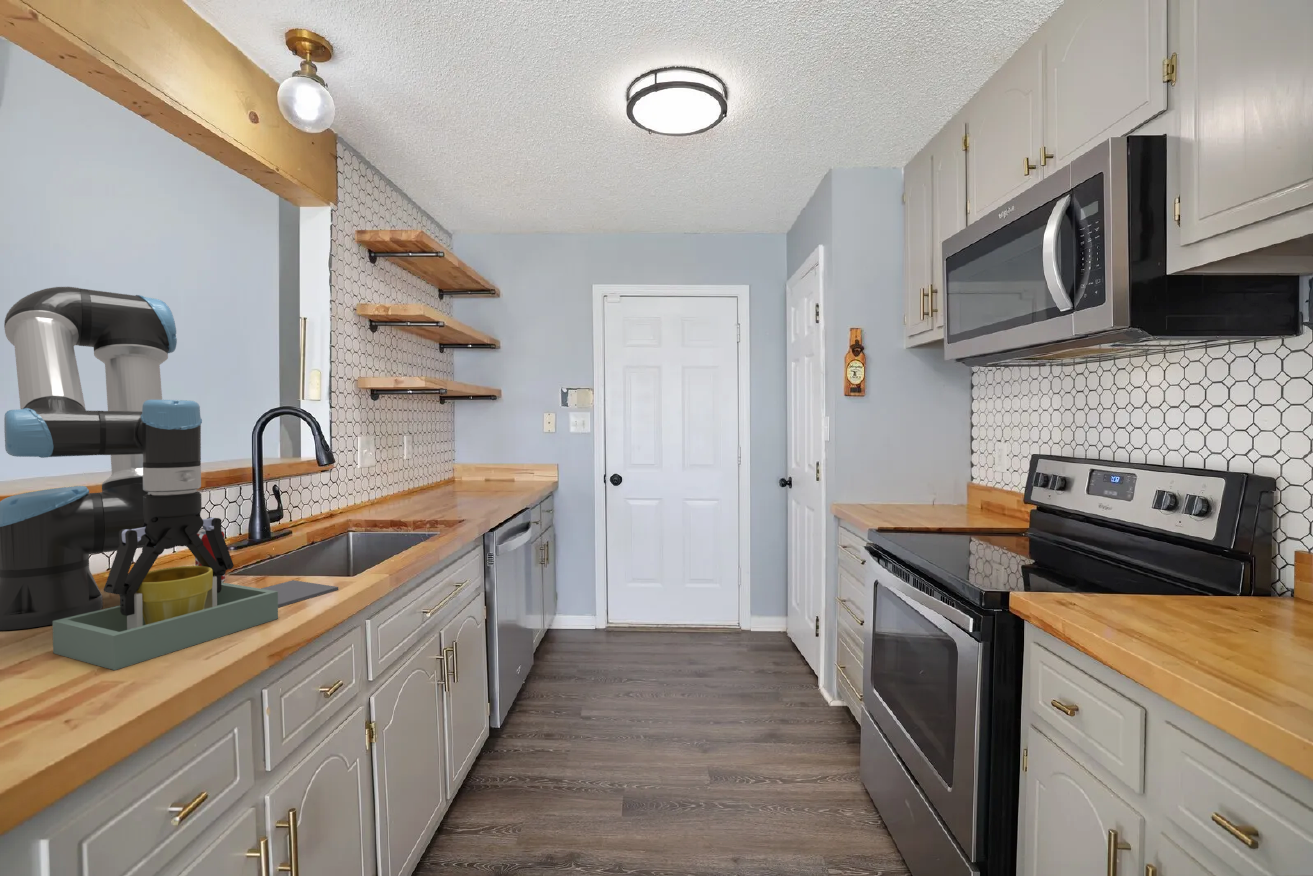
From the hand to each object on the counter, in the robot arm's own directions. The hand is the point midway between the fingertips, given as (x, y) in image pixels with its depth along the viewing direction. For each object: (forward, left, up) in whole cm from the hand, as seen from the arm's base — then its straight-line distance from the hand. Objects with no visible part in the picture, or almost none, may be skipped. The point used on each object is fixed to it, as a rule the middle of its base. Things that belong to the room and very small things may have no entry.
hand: (174, 622), depth 97 cm
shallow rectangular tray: (0, 0, -2) cm, 2 cm away
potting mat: (-5, +22, -2) cm, 23 cm away
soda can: (-29, +22, -2) cm, 36 cm away
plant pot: (0, 0, -2) cm, 2 cm away
